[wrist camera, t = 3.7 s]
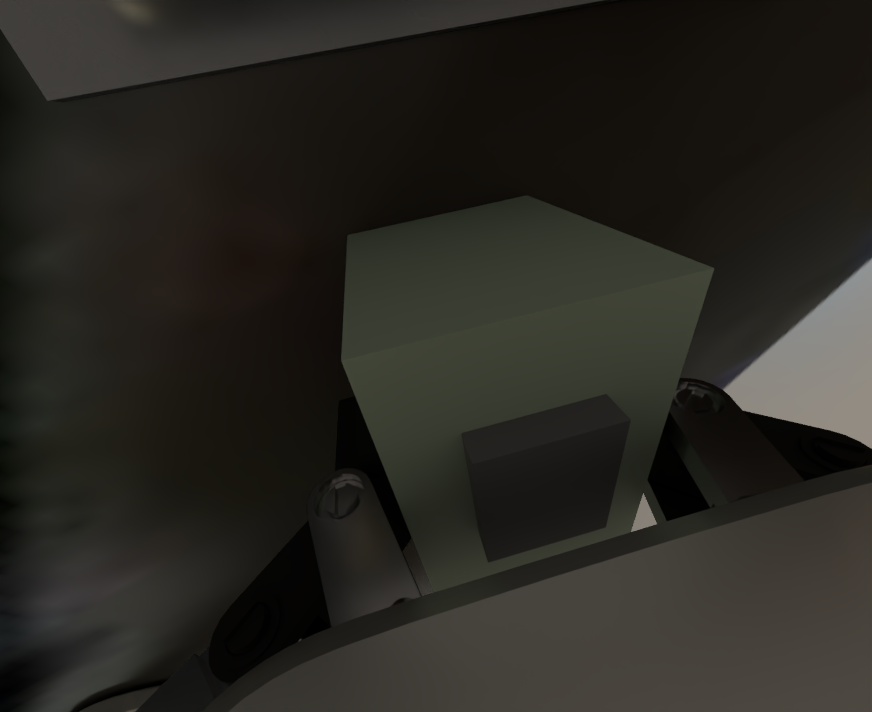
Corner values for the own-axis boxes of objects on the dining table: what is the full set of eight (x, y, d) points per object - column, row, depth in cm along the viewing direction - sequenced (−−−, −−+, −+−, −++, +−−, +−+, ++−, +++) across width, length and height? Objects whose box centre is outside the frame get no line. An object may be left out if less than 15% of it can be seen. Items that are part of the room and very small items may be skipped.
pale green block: (528, 422, 15) (631, 595, 9) (414, 453, 14) (451, 652, 9) (526, 194, 9) (758, 284, 4) (347, 235, 9) (339, 392, 4)
